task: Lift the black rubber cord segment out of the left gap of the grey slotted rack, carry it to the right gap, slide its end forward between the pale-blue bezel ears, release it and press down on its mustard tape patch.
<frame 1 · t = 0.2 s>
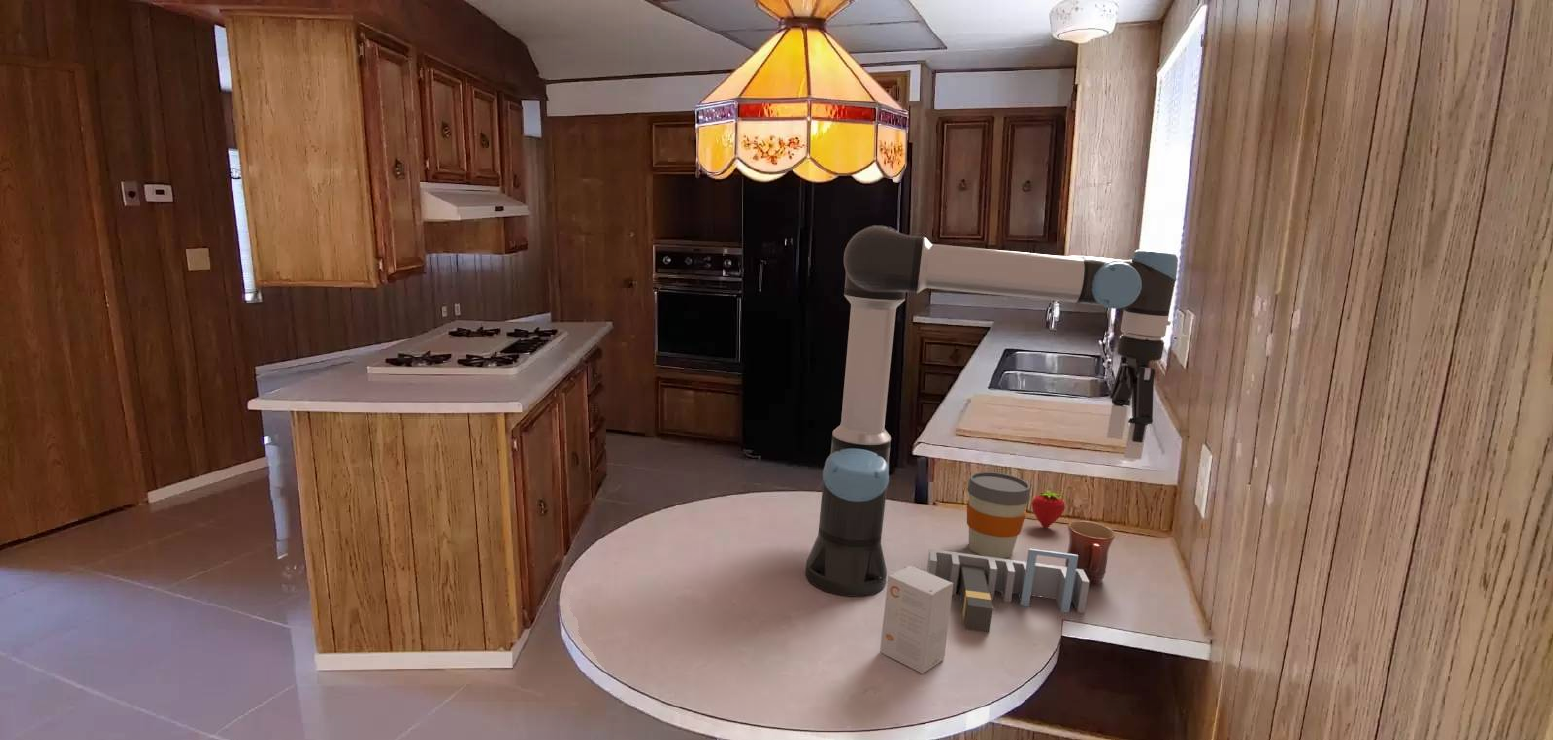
hand: (1122, 447, 150), 28 cm above the counter, fingers open, 13 cm apart
strawberry: (1044, 528, 182), on the counter
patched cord: (972, 608, 141), on the counter
blue bezel: (1044, 608, 143), on the counter
mug: (1084, 582, 156), on the counter
reusable coffee cup: (990, 550, 168), on the counter
small box: (911, 657, 124), on the counter
grey slotted rack: (1009, 601, 145), on the counter
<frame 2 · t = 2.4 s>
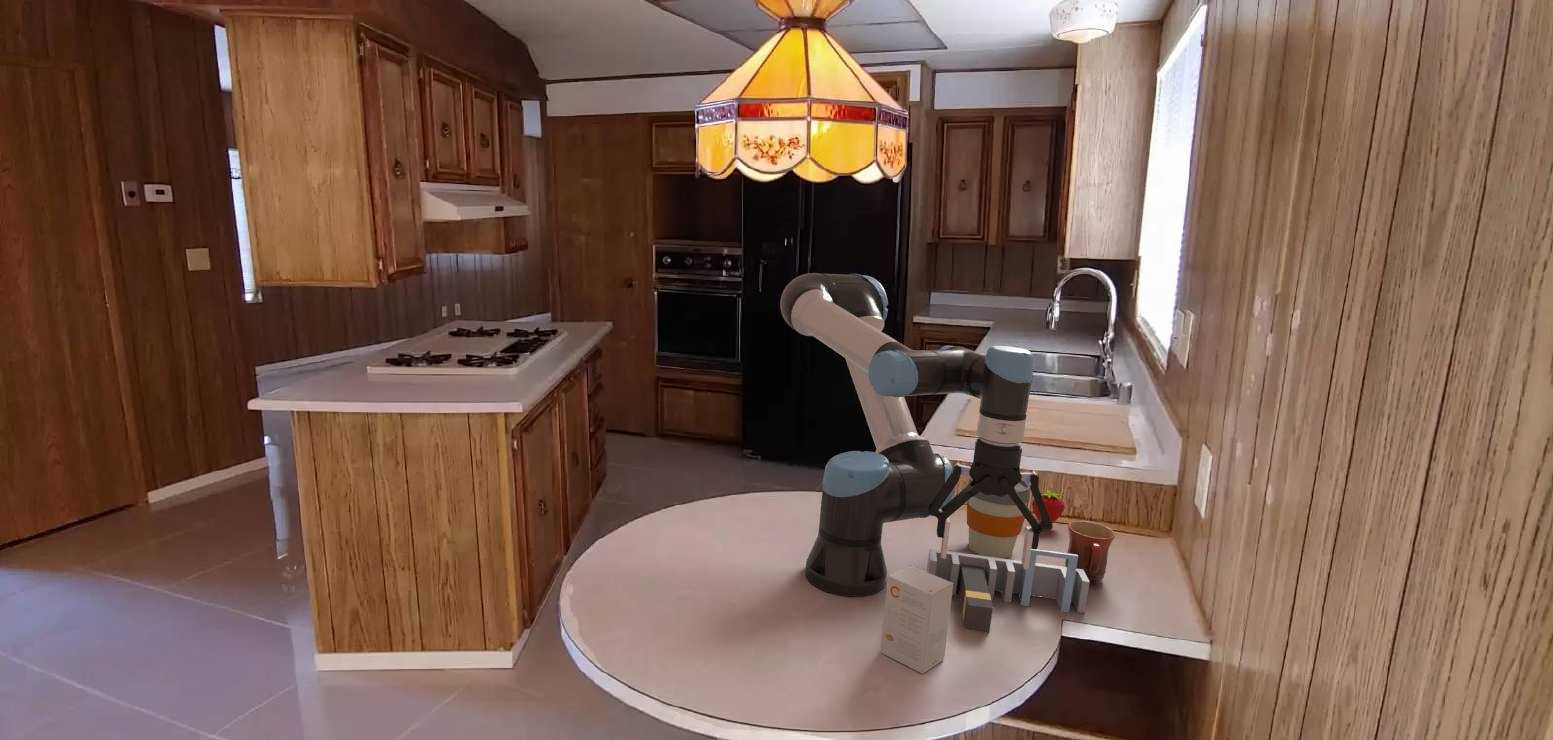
hand: (983, 560, 136), 11 cm above the counter, fingers open, 13 cm apart
nothing on the counter moved.
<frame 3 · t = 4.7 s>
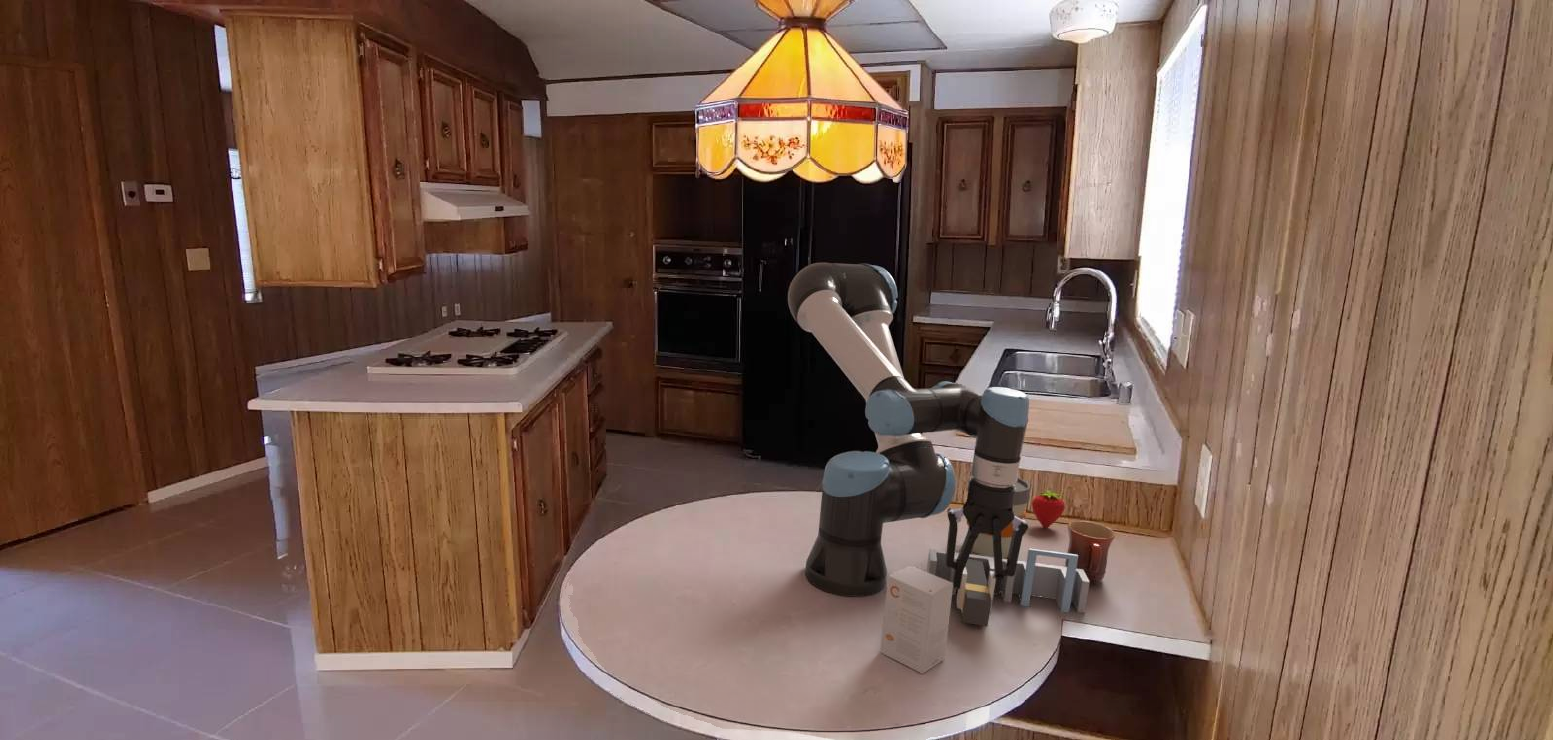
hand: (973, 606, 138), 2 cm above the counter, fingers closed on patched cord, 4 cm apart
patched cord: (971, 601, 141), point 1 cm above the counter, touching gripper
everything else where it was.
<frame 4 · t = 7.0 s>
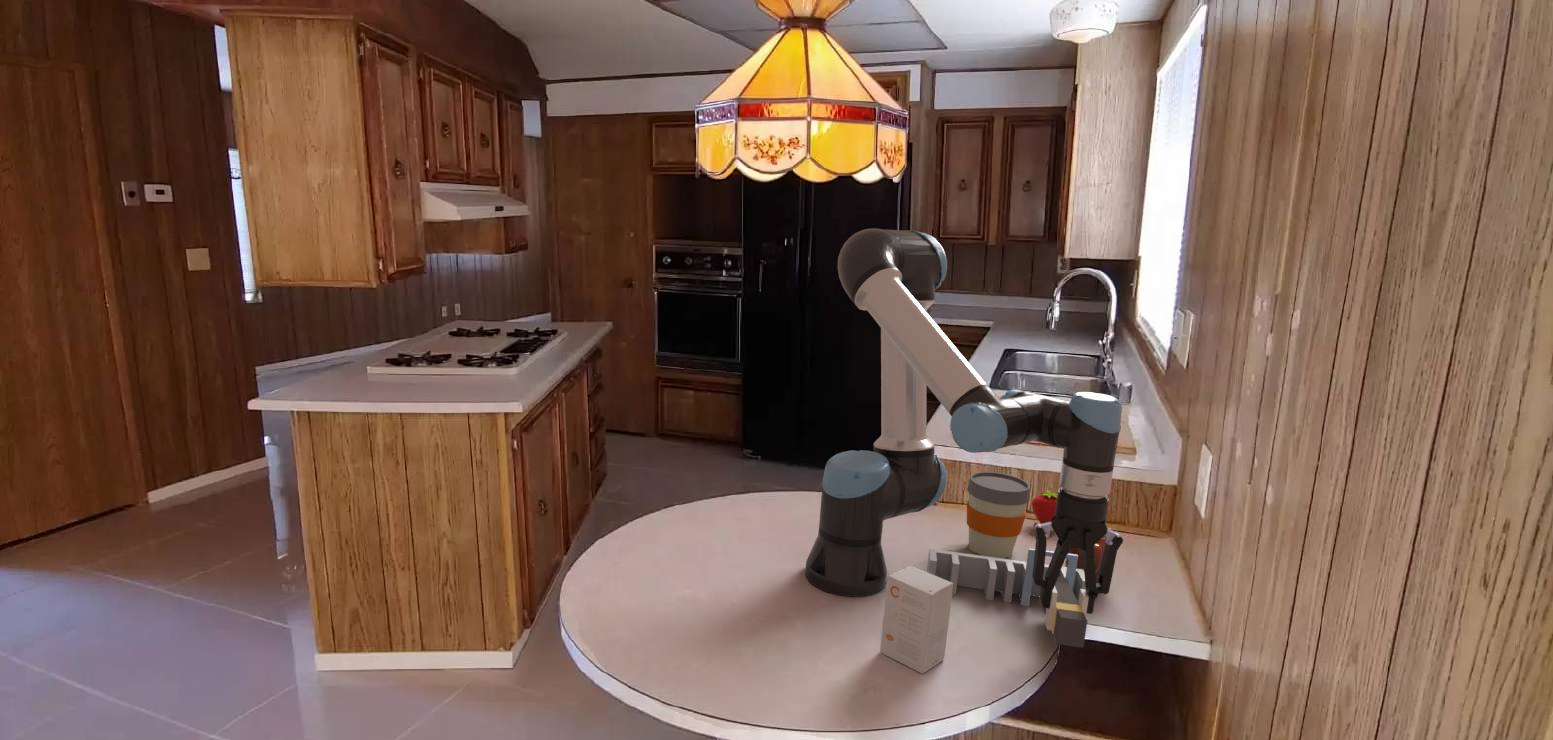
hand: (1063, 627, 130), 3 cm above the counter, fingers closed on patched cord, 4 cm apart
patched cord: (1059, 621, 132), point 3 cm above the counter, touching gripper
everything else where it was.
when the fingers open (1 cm above the counter, at t = 9.2 s): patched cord stays where it is, on the counter.
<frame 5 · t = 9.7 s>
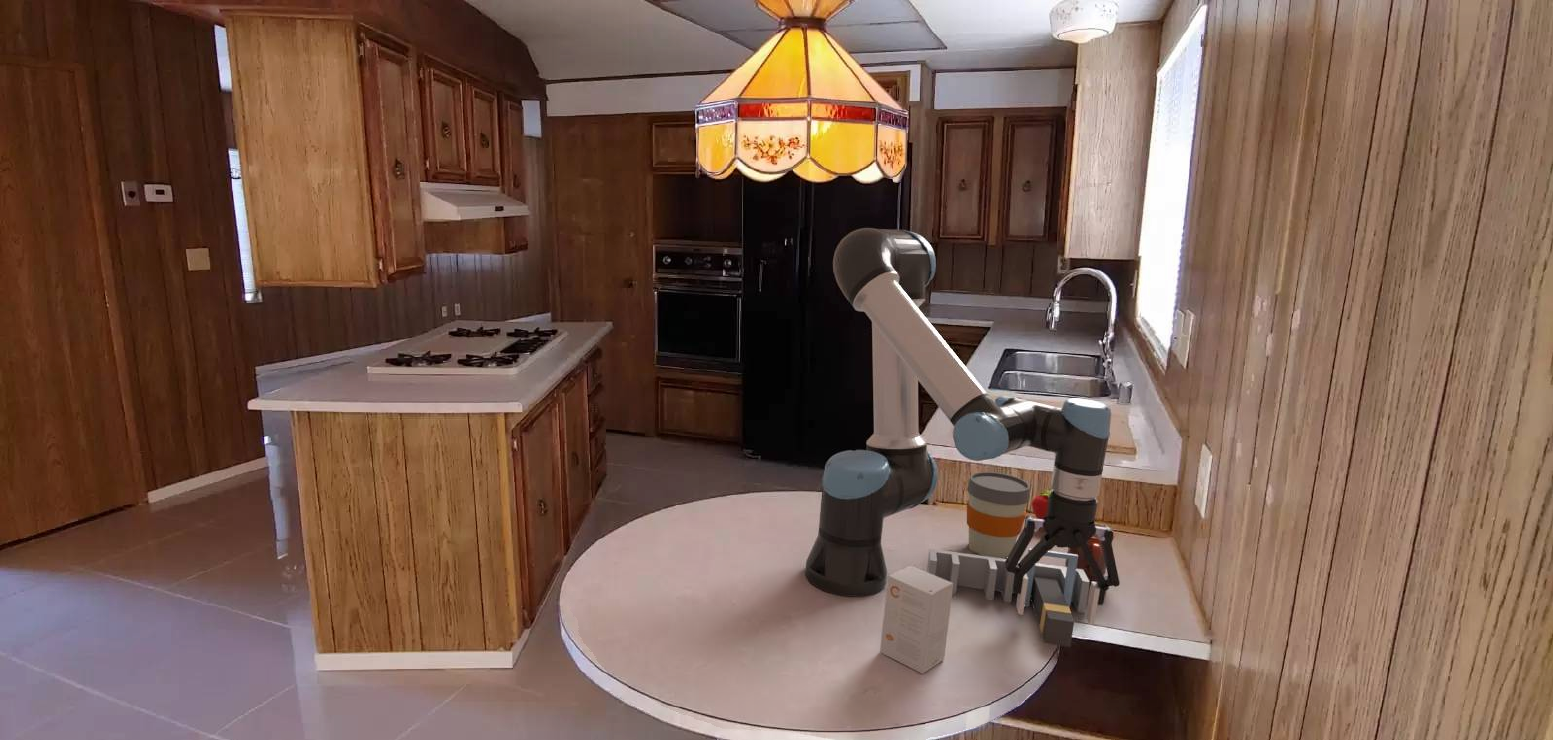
hand: (1054, 615, 136), 2 cm above the counter, fingers open, 11 cm apart
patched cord: (1049, 621, 139), on the counter
everything else where it was.
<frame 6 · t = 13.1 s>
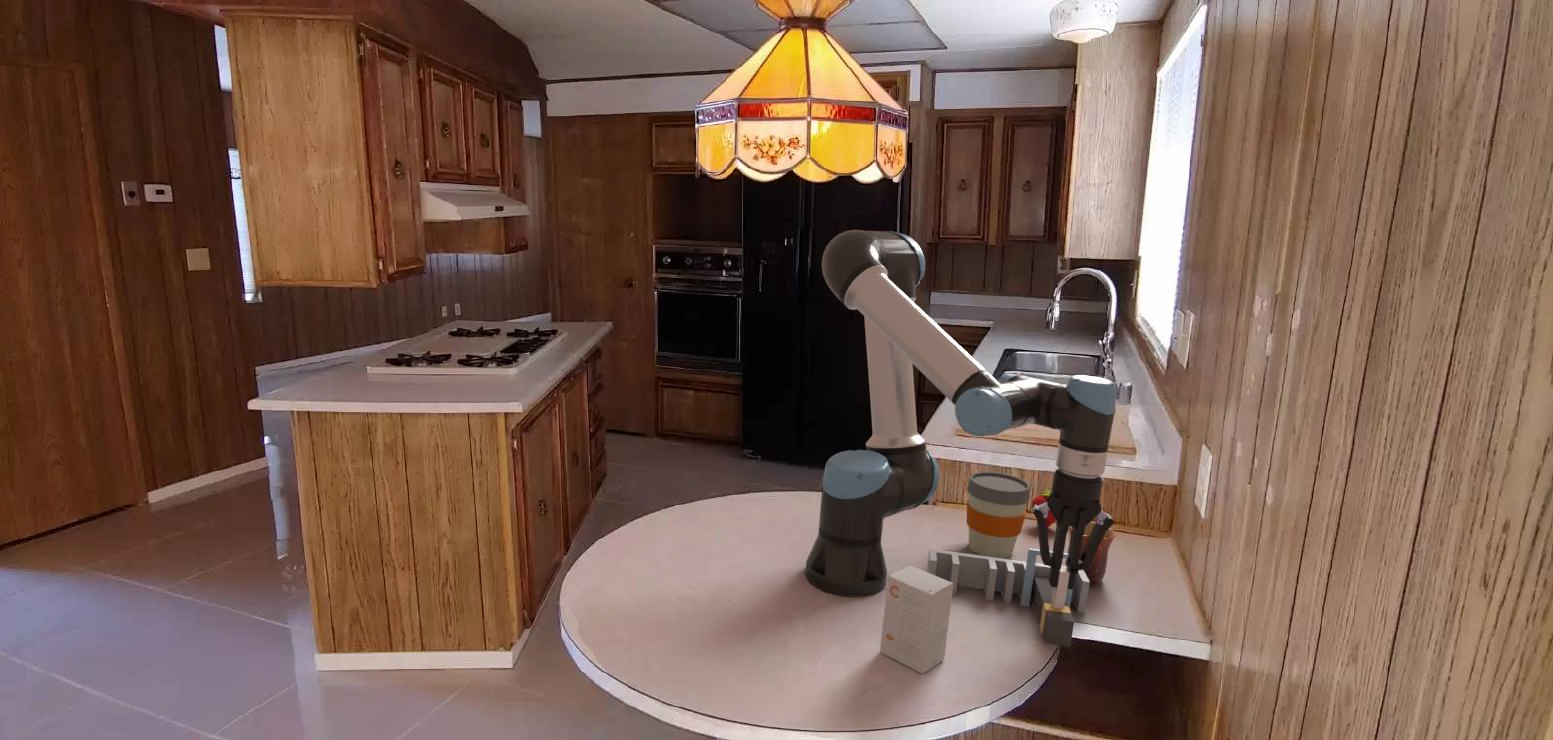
hand: (1057, 604, 134), 5 cm above the counter, fingers closed
nothing on the counter moved.
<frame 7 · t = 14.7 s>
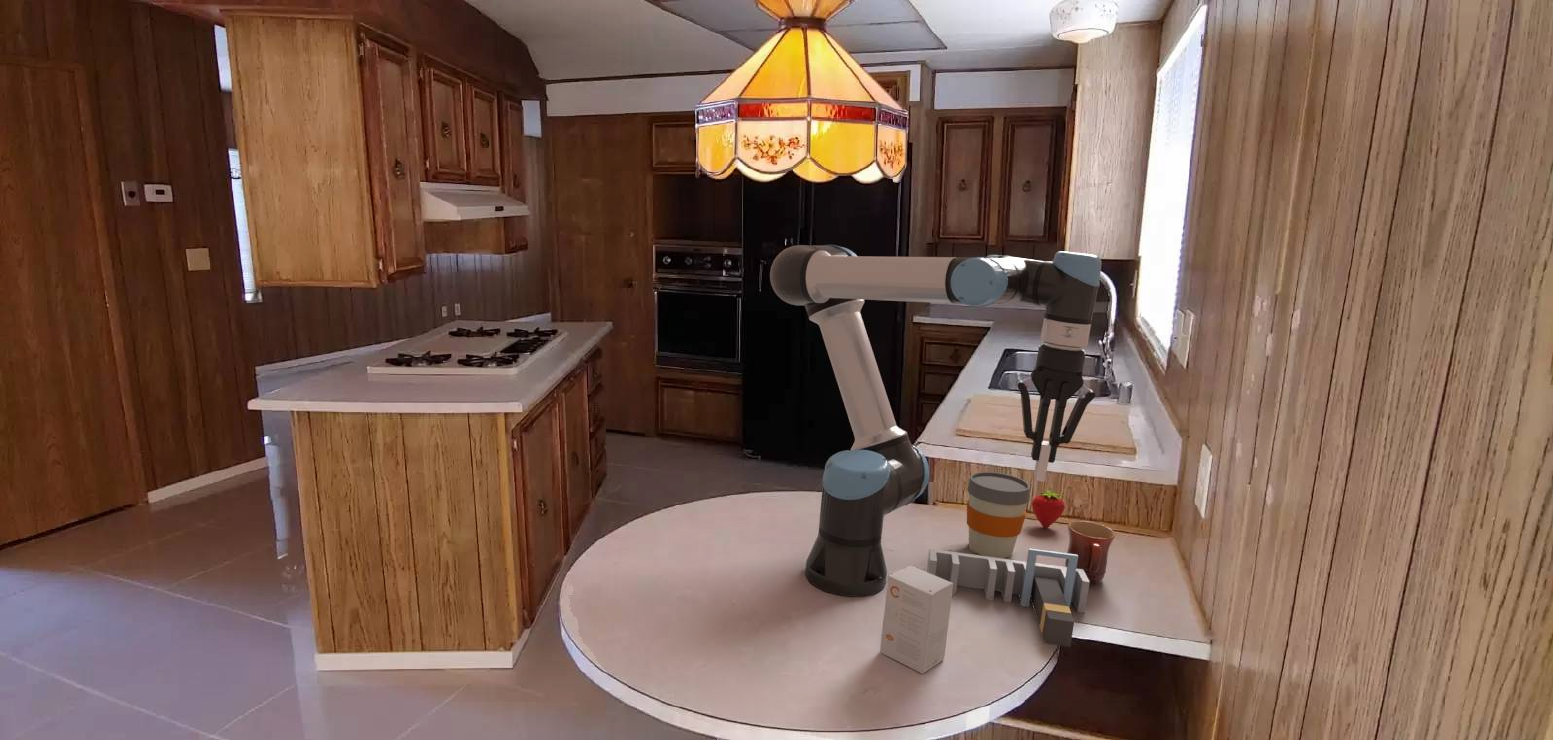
hand: (1039, 478, 138), 24 cm above the counter, fingers closed
nothing on the counter moved.
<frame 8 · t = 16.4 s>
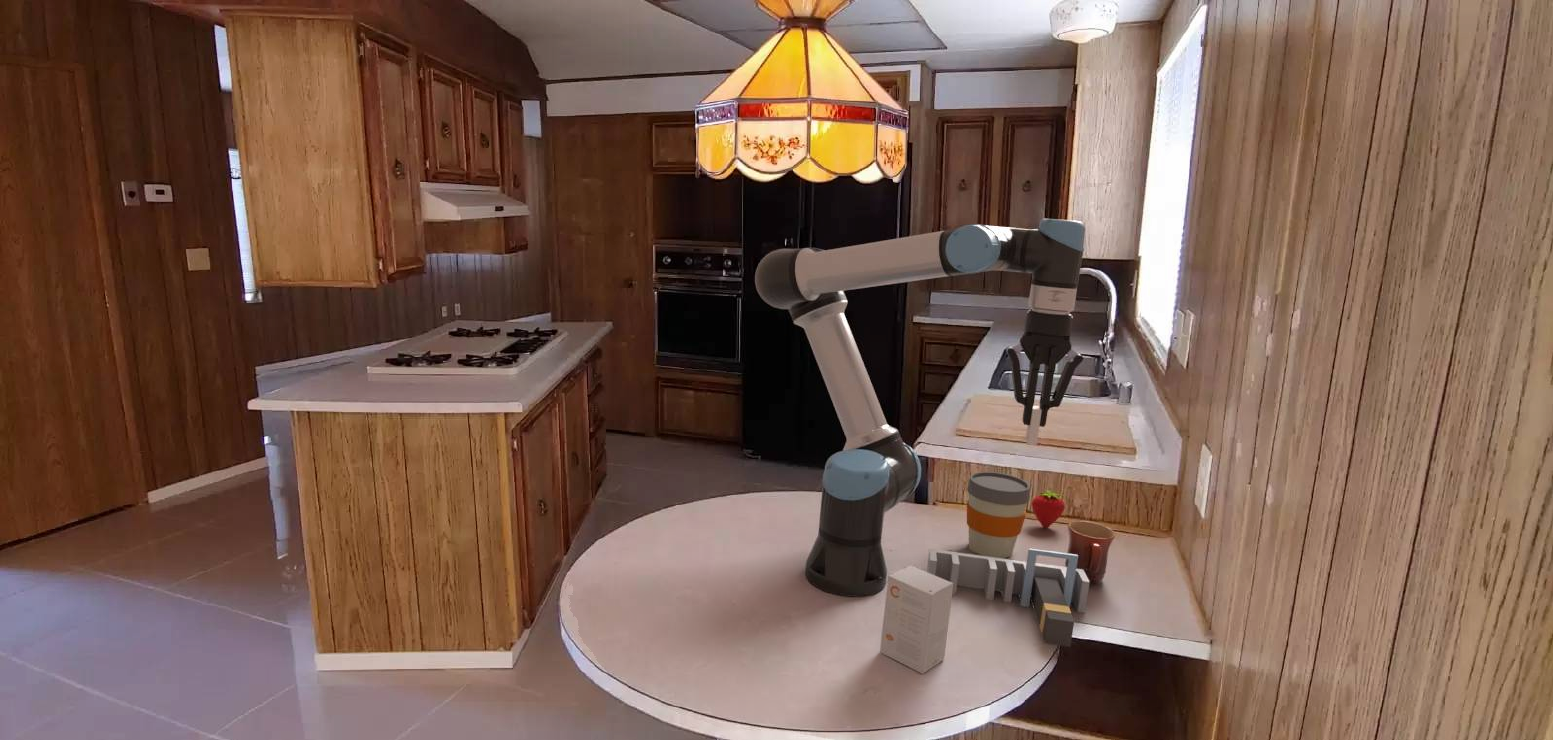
hand: (1030, 443, 141), 29 cm above the counter, fingers closed
nothing on the counter moved.
at the end: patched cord 0.2 cm from the target spot, on the counter; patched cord tilted 0°; the gripper is holding nothing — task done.
